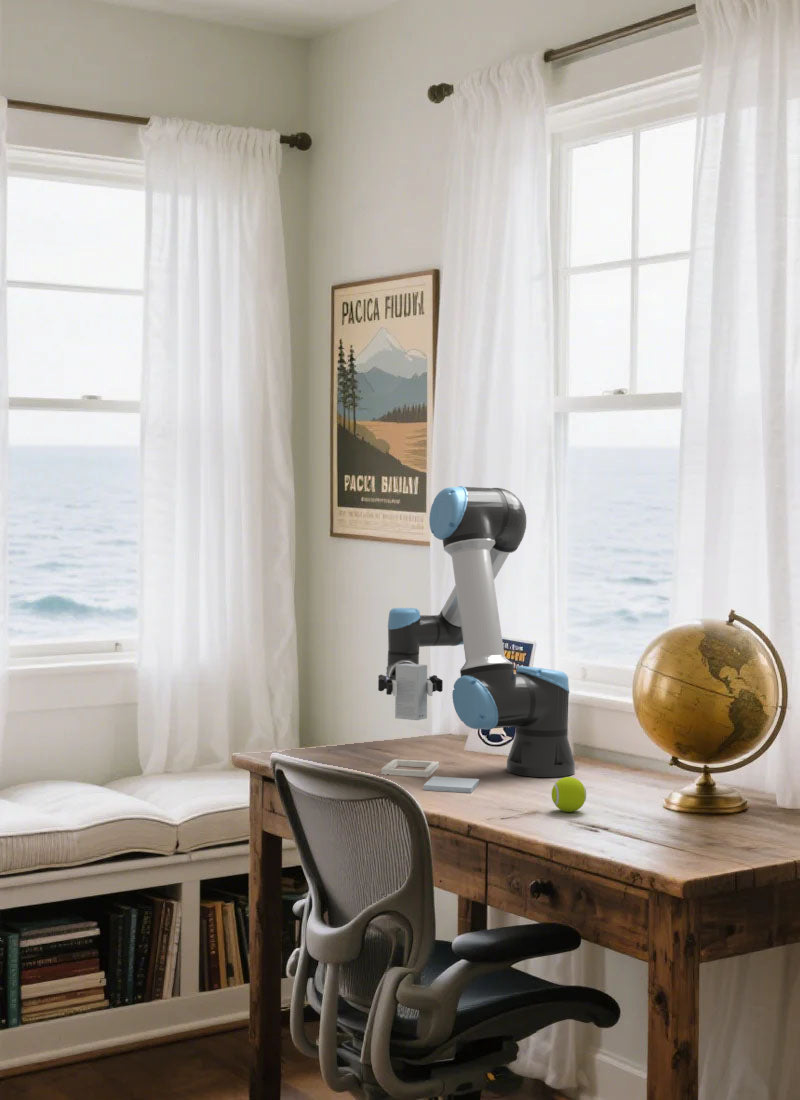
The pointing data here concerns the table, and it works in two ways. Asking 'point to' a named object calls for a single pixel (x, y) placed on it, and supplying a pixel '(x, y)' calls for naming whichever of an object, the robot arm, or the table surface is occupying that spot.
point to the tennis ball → (568, 794)
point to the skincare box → (411, 692)
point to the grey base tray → (412, 763)
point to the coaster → (451, 784)
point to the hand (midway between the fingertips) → (413, 689)
